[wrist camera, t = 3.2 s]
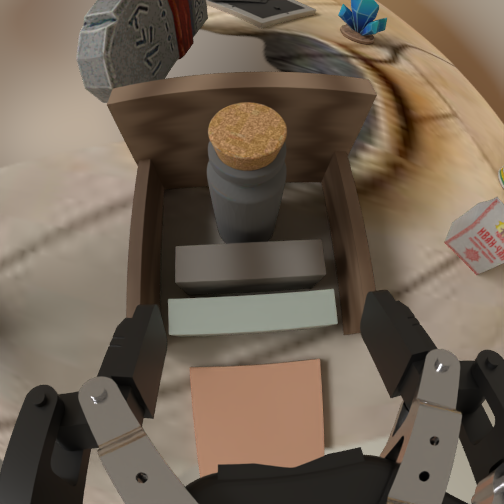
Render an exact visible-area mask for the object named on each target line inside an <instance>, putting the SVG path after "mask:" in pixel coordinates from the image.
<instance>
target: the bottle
mask: <svg viewBox="0 0 504 504" xmlns="http://www.w3.org/2000/svg"><path fill="white" fill-rule="evenodd" d="M208 134H209V139H210V141H209V144H208V156H209V162H208V166H207V179H208V185H209V190H210V195H211V200H212V205H213V209H214V214H215V218H216V223H217V228H218V231H219V234H220V236H221V238H222V240H223V241H224V242H225V243H226V244H230V243H250V242H268V241H269V239H270V238H271V236H272V234H273V231H274V227H275V223H276V219H277V215H278V211H279V207H280V203H281V199H282V195H283V190H284V186H285V181H286V173H287V170H286V164H285V157H286V144H285V140H286V136H287V127H286V124H285V122H284V120H283V118H282V117H281V116H280V115H279V114H278V113H277V112H276V111H274V110H273V109H271V108H270V107H267V106H265V105H262V104H258V103H250V102H245V103H237V104H233V105H230V106H227V107H225V108H223V109H222V110H220V111H219V112H218V113H216V115H215V116H214V117H213V118H212V120H211V122H210V124H209V128H208Z"/></svg>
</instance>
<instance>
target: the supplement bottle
mask: <svg viewBox="0 0 504 504" xmlns="http://www.w3.org/2000/svg"><path fill="white" fill-rule="evenodd" d="M498 177H499V181H500V184H501V186H502V187H503V189H504V166H503V167H502V168H501V169H500V170H499V172H498Z"/></svg>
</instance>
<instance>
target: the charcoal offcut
mask: <svg viewBox="0 0 504 504" xmlns="http://www.w3.org/2000/svg"><path fill="white" fill-rule="evenodd" d="M325 275H326V268H325V260H324V253H323V246H322V239H316V240H293V241H271V242H250V243H230V244H210V245H191V246H176V256H175V283H176V284H177V285H178V286H180V287H181V288H182V289H183V290H184V291H185V292H186V293H187V294H188V295H207V294H230V293H250V292H267V291H283V290H298V289H311V288H312V287H313V286H314V285H315V284H316V283H317V282H319V281H320V280H321V279H322V278H323V277H324V276H325Z"/></svg>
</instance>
